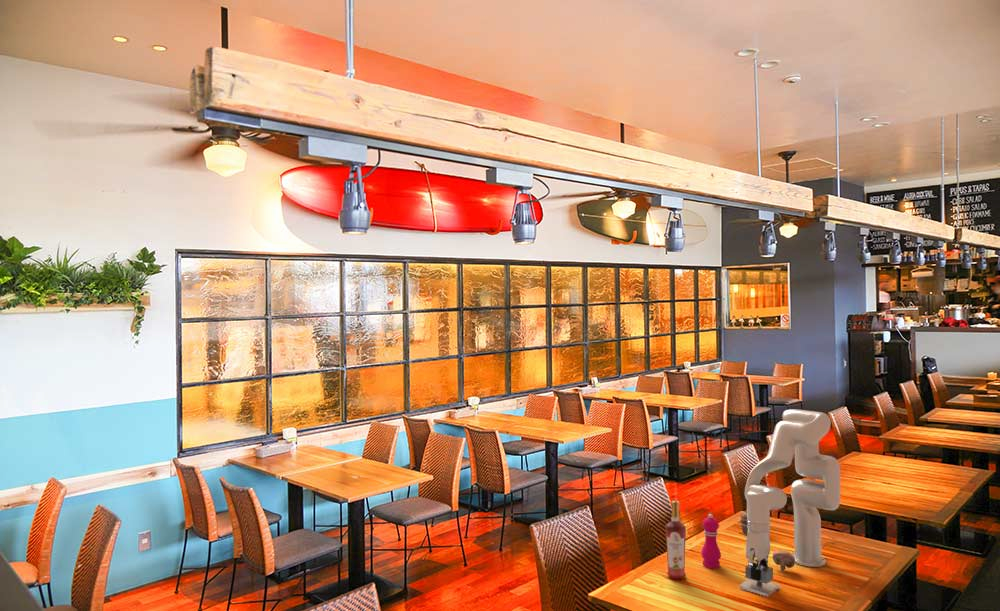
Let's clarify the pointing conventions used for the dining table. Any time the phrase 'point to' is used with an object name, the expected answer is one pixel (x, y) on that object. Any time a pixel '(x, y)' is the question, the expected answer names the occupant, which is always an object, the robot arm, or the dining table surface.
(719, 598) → the dining table surface
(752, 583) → the keeper
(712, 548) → the pepper mill
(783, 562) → the mushroom
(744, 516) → the cupcake
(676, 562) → the liquor
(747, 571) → the grey rectangular frame
